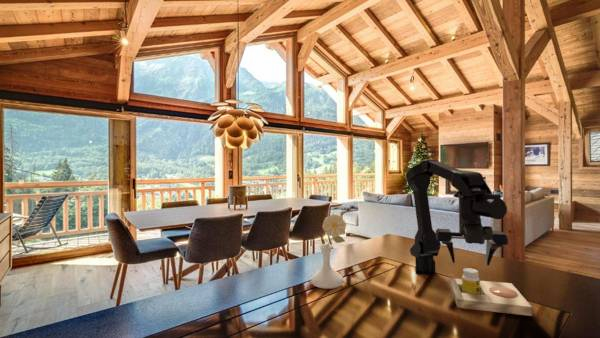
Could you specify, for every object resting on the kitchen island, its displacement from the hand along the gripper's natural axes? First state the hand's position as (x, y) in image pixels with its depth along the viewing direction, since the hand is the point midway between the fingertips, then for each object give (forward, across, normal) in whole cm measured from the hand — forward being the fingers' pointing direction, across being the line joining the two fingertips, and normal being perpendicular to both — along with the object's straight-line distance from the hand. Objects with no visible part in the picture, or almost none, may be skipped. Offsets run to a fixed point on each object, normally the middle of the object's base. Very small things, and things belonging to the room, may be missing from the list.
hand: (470, 264), depth 92 cm
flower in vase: (+11, -44, -2) cm, 45 cm away
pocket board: (+10, +4, 0) cm, 11 cm away
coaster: (+8, +8, 0) cm, 12 cm away
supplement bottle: (+10, 0, 0) cm, 11 cm away
